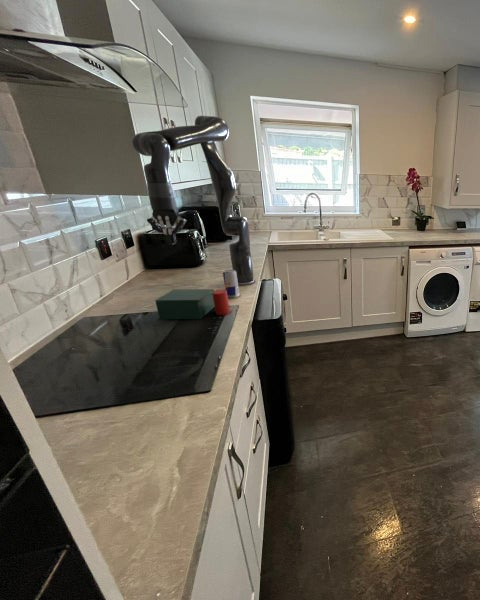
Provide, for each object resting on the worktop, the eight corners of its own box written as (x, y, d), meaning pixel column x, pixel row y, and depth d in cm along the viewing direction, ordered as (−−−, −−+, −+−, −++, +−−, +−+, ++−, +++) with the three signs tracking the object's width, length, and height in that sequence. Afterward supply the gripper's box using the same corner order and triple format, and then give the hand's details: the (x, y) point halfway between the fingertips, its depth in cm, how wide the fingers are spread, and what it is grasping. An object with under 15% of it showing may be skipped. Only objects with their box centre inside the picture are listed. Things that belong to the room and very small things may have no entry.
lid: (214, 290, 133) (214, 289, 132) (199, 301, 121) (199, 299, 121) (174, 291, 131) (173, 289, 131) (155, 302, 119) (155, 300, 119)
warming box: (214, 306, 135) (212, 291, 133) (200, 319, 123) (197, 302, 121) (177, 306, 133) (174, 291, 131) (159, 319, 122) (155, 302, 119)
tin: (219, 310, 132) (215, 289, 129) (231, 310, 132) (228, 289, 129) (213, 315, 127) (209, 293, 124) (227, 315, 128) (223, 293, 124)
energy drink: (223, 296, 146) (219, 271, 142) (234, 293, 150) (230, 268, 146) (231, 299, 144) (227, 273, 140) (242, 295, 148) (238, 270, 144)
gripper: (187, 196, 119) (195, 242, 125) (148, 194, 117) (159, 242, 123) (176, 197, 112) (185, 246, 118) (134, 195, 110) (146, 246, 116)
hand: (172, 244), depth 120 cm, fingers closed
